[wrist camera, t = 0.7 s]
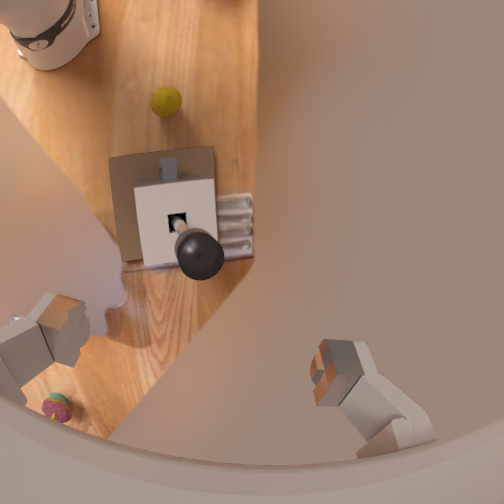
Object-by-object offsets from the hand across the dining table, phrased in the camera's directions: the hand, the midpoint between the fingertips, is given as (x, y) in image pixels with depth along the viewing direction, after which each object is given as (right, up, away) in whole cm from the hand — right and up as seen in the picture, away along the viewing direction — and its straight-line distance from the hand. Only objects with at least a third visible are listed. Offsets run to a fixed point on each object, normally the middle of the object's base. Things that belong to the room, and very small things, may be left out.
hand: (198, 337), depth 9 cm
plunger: (-11, +9, +35) cm, 37 cm away
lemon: (-15, +30, +39) cm, 51 cm away
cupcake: (-50, -36, +46) cm, 77 cm away
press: (-15, +12, +44) cm, 48 cm away
